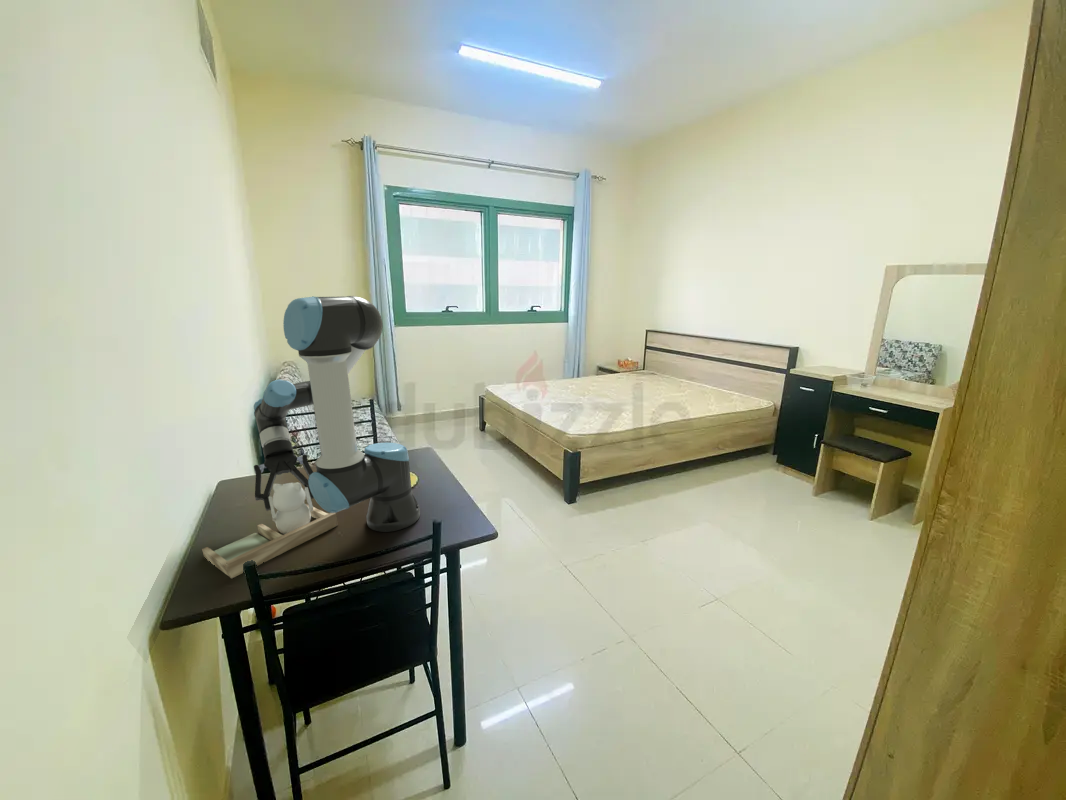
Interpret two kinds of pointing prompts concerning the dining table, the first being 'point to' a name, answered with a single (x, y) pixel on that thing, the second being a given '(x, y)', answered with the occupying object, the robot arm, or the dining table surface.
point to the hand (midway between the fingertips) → (293, 514)
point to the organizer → (267, 544)
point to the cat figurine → (290, 507)
